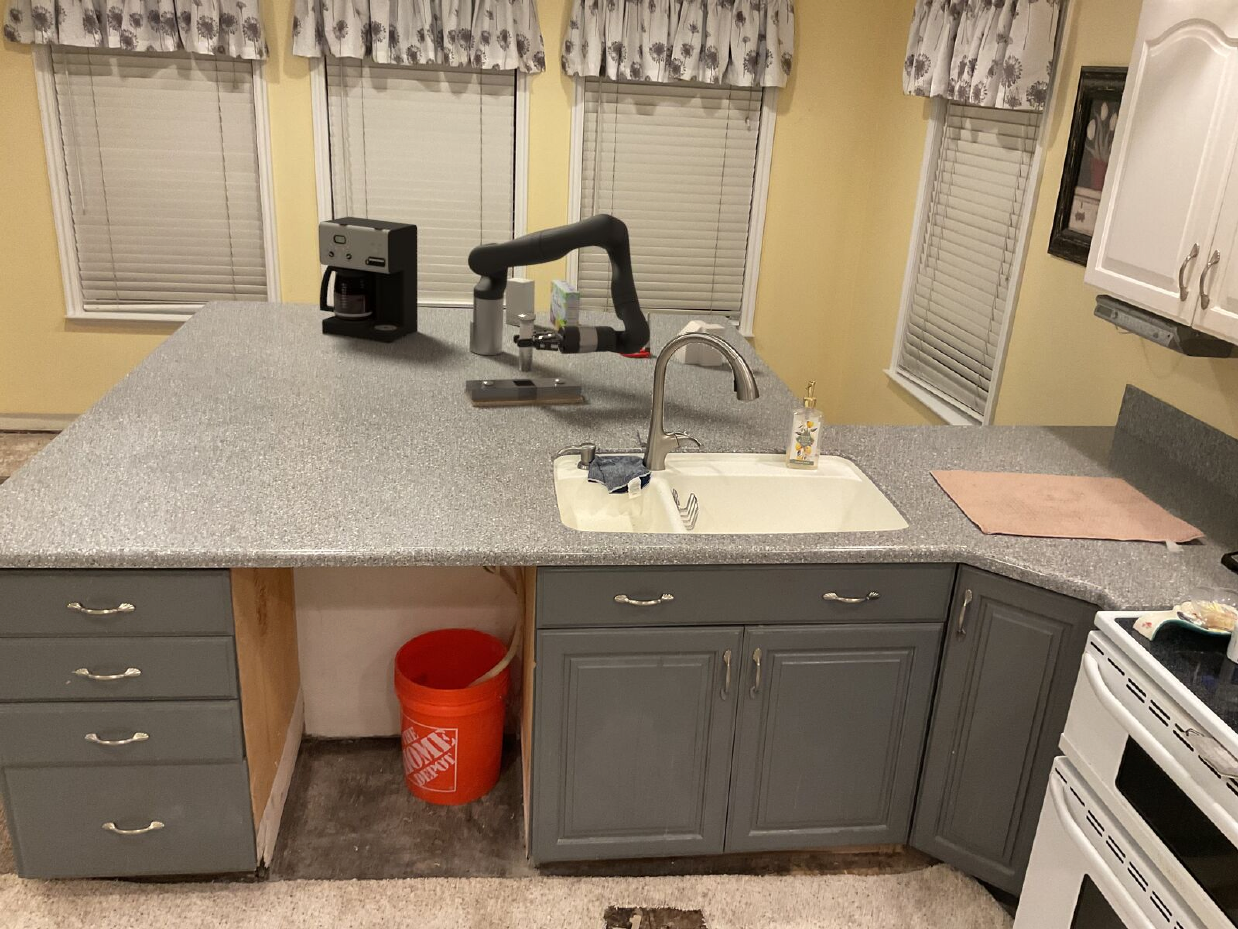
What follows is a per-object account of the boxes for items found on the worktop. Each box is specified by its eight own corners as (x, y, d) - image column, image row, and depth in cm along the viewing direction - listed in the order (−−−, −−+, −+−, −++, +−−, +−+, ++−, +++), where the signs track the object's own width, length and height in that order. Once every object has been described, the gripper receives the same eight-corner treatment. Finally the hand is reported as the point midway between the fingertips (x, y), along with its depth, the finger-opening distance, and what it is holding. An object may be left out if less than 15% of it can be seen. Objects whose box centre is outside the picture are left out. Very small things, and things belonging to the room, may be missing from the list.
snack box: (548, 321, 360) (550, 278, 354) (563, 321, 361) (565, 279, 356) (563, 336, 341) (565, 291, 336) (579, 336, 343) (581, 291, 337)
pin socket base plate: (473, 406, 264) (473, 389, 263) (464, 392, 275) (464, 376, 273) (582, 402, 274) (583, 385, 272) (570, 388, 285) (571, 373, 283)
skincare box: (534, 324, 353) (536, 280, 347) (523, 327, 348) (524, 282, 342) (515, 320, 357) (517, 276, 351) (503, 323, 352) (505, 278, 346)
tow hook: (618, 358, 321) (649, 359, 321) (619, 314, 316) (651, 316, 316) (619, 351, 330) (650, 352, 329) (620, 309, 325) (651, 310, 324)
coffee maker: (309, 331, 323) (305, 220, 310) (342, 319, 340) (339, 213, 328) (388, 343, 316) (387, 230, 303) (418, 331, 333) (417, 223, 321)
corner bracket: (721, 365, 320) (725, 328, 316) (688, 366, 316) (692, 329, 312) (706, 356, 329) (710, 320, 325) (674, 357, 325) (678, 320, 321)
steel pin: (513, 370, 270) (514, 315, 265) (521, 366, 275) (522, 312, 269) (529, 373, 269) (531, 317, 263) (537, 369, 273) (539, 314, 268)
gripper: (570, 319, 278) (509, 320, 273) (586, 332, 266) (522, 333, 260) (569, 346, 281) (508, 348, 275) (584, 360, 269) (521, 362, 263)
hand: (515, 341), depth 268 cm, fingers closed on steel pin, 3 cm apart
